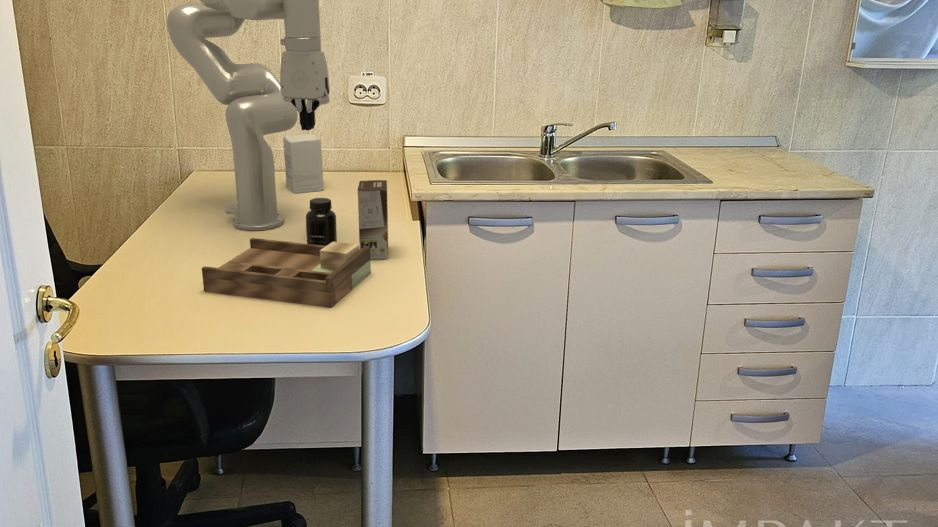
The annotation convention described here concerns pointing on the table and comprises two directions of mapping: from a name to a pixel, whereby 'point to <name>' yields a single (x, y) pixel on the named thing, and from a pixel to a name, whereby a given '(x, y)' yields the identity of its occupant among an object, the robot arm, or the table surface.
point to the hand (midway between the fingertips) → (307, 129)
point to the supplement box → (303, 163)
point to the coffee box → (373, 217)
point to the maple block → (336, 254)
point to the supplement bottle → (321, 223)
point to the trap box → (287, 274)
